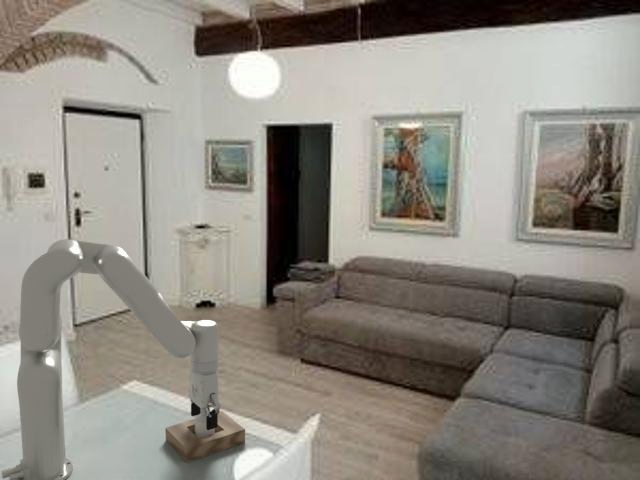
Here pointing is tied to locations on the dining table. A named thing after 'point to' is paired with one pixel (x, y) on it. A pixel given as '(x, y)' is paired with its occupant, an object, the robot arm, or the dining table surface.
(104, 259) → the robot arm
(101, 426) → the dining table surface
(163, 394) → the dining table surface
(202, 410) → the eye dropper bottle
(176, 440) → the socket block
